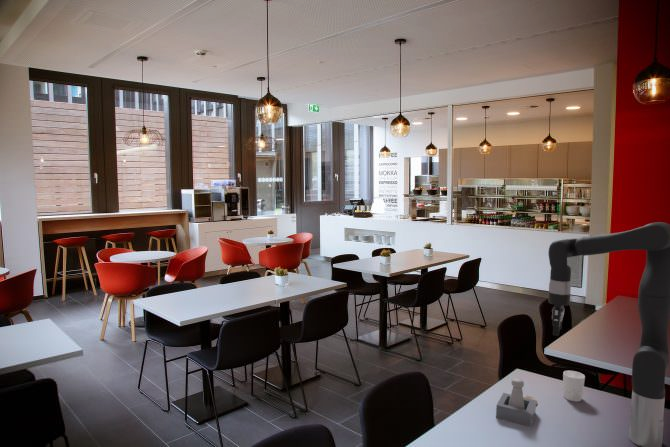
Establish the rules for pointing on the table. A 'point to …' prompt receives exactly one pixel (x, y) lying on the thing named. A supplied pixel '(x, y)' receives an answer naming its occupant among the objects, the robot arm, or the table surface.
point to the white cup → (573, 385)
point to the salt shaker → (517, 394)
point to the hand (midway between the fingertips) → (557, 332)
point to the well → (516, 411)
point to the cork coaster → (529, 398)
